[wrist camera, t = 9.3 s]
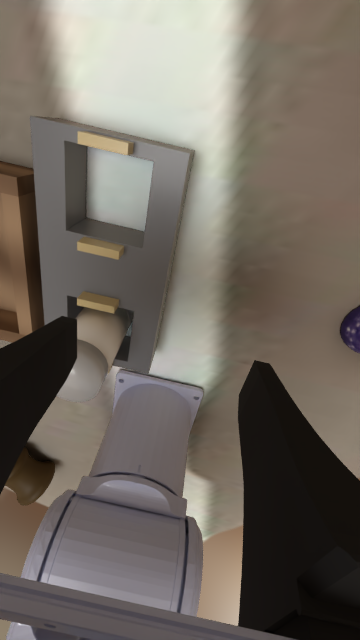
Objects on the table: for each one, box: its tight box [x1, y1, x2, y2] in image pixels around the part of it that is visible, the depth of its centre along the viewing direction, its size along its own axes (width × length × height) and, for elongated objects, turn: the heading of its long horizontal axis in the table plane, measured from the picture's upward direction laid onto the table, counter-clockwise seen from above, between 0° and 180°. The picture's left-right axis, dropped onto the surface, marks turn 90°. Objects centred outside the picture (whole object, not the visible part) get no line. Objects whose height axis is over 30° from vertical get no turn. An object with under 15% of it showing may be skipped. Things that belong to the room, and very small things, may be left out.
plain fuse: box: [56, 307, 134, 402], centre depth 20 cm, size 4×4×8 cm
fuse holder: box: [30, 116, 195, 374], centre depth 19 cm, size 15×8×4 cm, turn 169°
